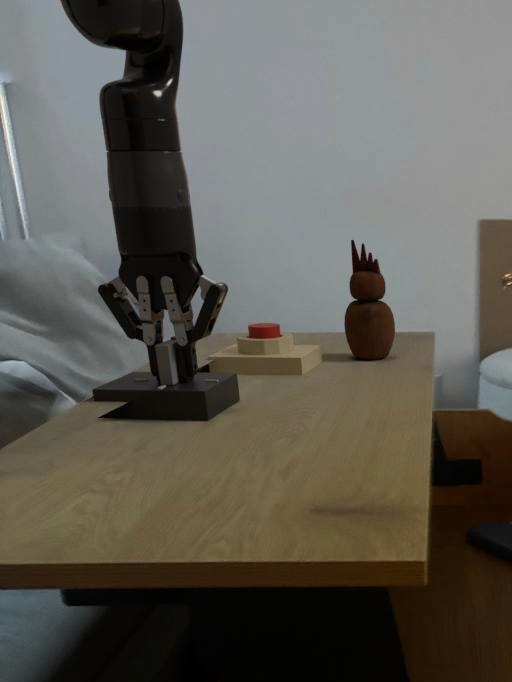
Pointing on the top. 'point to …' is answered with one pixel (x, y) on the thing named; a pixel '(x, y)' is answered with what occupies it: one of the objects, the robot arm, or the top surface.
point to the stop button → (264, 330)
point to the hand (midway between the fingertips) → (175, 380)
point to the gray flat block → (168, 362)
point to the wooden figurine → (368, 310)
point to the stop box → (266, 357)
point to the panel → (169, 396)
